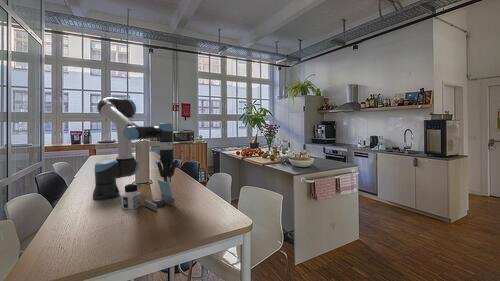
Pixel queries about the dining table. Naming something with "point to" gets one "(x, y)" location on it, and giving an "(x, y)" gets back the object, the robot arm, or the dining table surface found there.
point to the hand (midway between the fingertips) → (167, 188)
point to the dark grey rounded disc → (158, 202)
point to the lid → (165, 188)
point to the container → (131, 197)
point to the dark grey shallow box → (154, 206)
